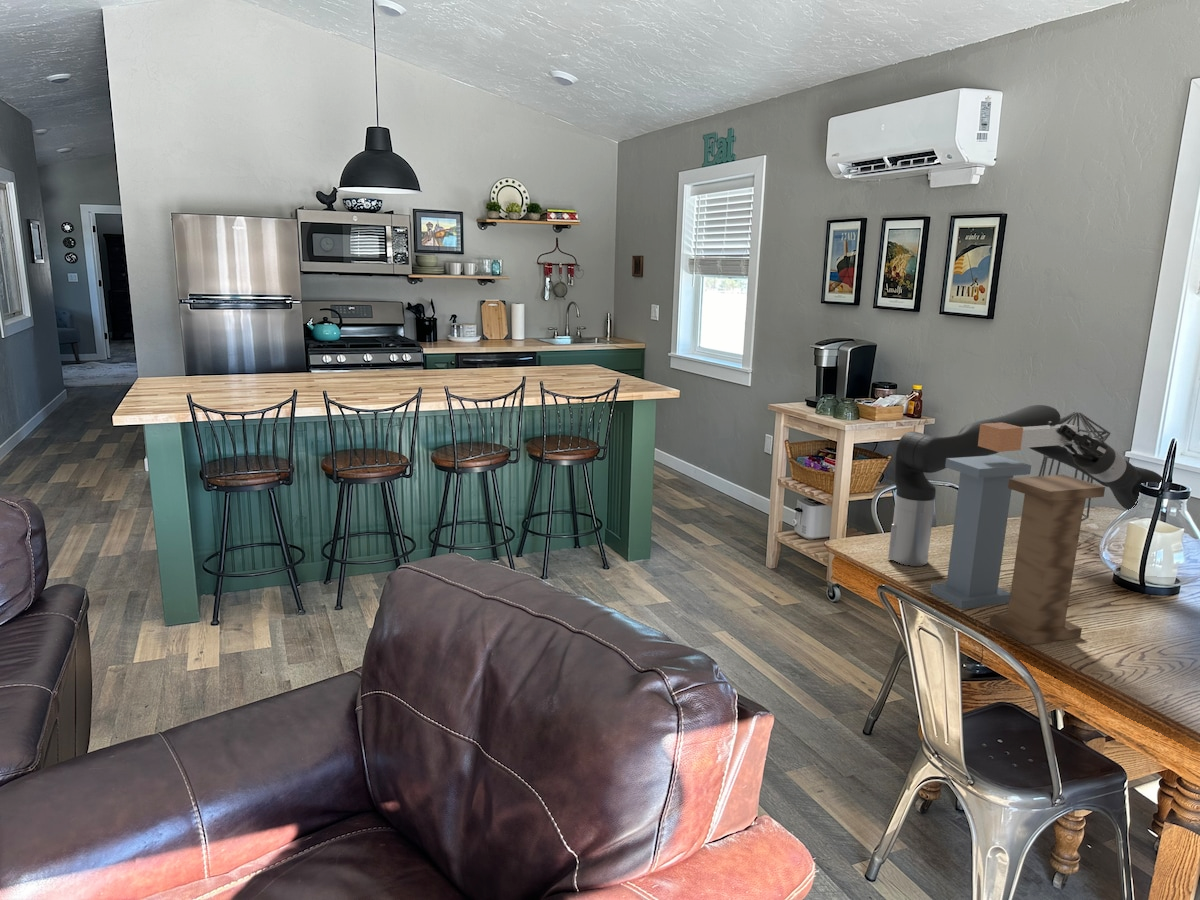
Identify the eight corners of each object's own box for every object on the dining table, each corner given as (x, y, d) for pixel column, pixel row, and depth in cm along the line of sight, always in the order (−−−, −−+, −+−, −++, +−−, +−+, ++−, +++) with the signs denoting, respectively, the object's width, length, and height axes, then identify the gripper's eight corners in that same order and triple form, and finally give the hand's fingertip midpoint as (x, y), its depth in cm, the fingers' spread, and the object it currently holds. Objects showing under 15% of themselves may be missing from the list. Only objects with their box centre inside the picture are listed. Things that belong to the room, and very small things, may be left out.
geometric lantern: (1036, 518, 248) (1056, 405, 240) (1093, 531, 237) (1117, 414, 229) (1017, 528, 237) (1038, 410, 229) (1077, 542, 226) (1101, 419, 218)
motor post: (978, 586, 192) (996, 455, 185) (1011, 602, 183) (1031, 465, 176) (930, 592, 188) (946, 458, 181) (961, 609, 179) (979, 469, 172)
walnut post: (1040, 617, 176) (1062, 474, 169) (1080, 637, 166) (1105, 487, 159) (989, 624, 171) (1009, 478, 164) (1026, 645, 162) (1049, 491, 155)
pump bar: (1059, 439, 187) (1062, 418, 186) (1081, 445, 181) (1084, 423, 180) (977, 445, 180) (980, 423, 179) (998, 451, 174) (1000, 429, 173)
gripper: (1118, 482, 182) (1072, 447, 175) (1066, 467, 195) (1021, 434, 188) (1135, 453, 181) (1090, 417, 175) (1082, 440, 194) (1037, 406, 188)
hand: (1054, 426), depth 182 cm, fingers closed on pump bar, 3 cm apart
